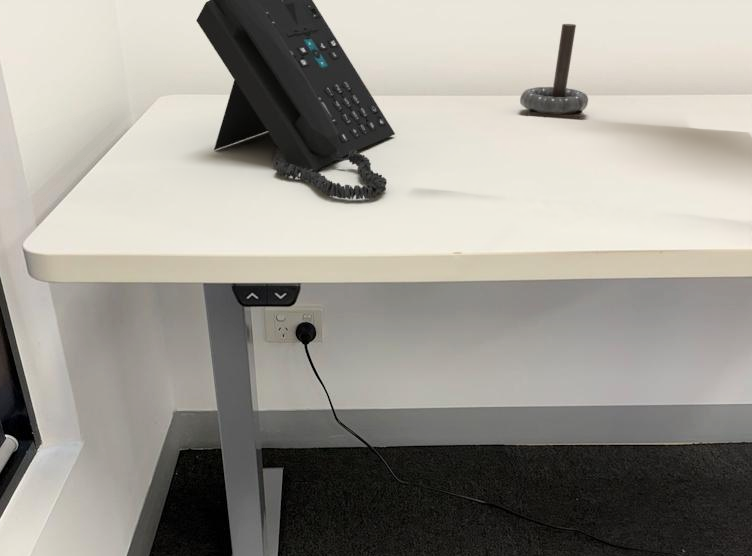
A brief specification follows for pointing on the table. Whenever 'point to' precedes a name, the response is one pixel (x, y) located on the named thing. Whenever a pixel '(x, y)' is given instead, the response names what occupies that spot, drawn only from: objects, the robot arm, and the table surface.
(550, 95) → the ring
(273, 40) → the office phone
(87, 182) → the table surface
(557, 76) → the stand
